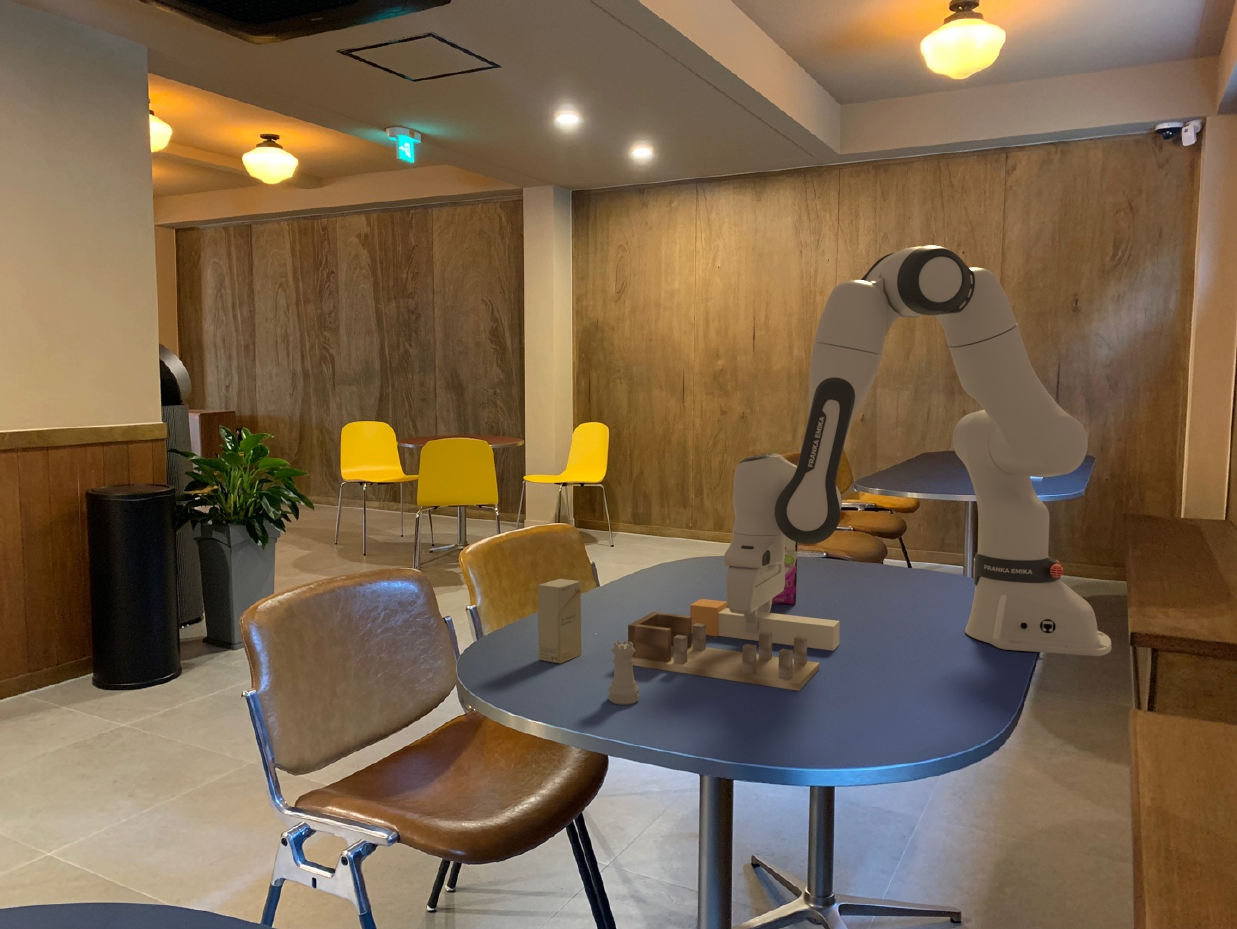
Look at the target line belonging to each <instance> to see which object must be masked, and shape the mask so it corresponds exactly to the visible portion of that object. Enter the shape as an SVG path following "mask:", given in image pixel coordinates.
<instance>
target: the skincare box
mask: <svg viewBox="0 0 1237 929" xmlns="http://www.w3.org/2000/svg"><path fill="white" fill-rule="evenodd" d="M581 589H582V587H581V581H580V580H576V579H575V580H572V579H566V578H558V579H553V580H550V581H547V582H544V583H540V584H537V615H538V616H537V618H538V619H537V626H538V628H537V629H538V630H537V631H538V632H537V633H538V638H537V639H538V660H539V661H543V662H547V663H555V664H562V663H565V662H567V661H569V660H573V659H575V658H577V657H579V656H582V607H581V606H582V602H581V601H582V599H581V598H582V597H581V596H582V592H581Z"/></svg>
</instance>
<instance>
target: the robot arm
mask: <svg viewBox="0 0 1237 929" xmlns="http://www.w3.org/2000/svg"><path fill="white" fill-rule="evenodd" d="M922 316H934V317H935V318H936V319H937V321H938V322H939V324H940V326H941V328H942V329H943V333H944V336H945V340H946V343H947V347H948V350H949V353H950V356H951V359H952V362H953V365H954V368H955V371H956V374H957V377H958V380H959V383H960V386H961V387H962V389H963V391H964V392H965V393H966V394H967V395H968V396H969V397H971V398H972V399H974V400H975V401H976V402H977V403H978V404H979V405H980V406H981V407H982V410H981V409H980V410H978V411H975V412H971V413H968V414H966V415H964V416H962V417H961V418H960V420H959V421H958V422H957V424H956V425H955V427H954V430H953V433H952V445H953V447H952V448H953V449H954V452H955V454H956V456H957V457H958V458H959V459H960V461H961V462H962V463H963V465H964V466H965V468H966V470H967V472H968V475H969V478H970V481H971V484H972V487H973V491H974V495H975V500H976V506H977V514H978V515H977V519H978V520H977V521H978V524H977V526H978V527H977V528H978V529H977V551H976V552H975V555H974V558H973V581H974V582H973V584H974V585H975V586H974V595H973V600H972V606H971V611H970V614H969V618H968V622H967V624H966V627H965V630H964V632H965V633H966V635H967V636H969V637H971V638H973V639H976V640H978V641H982V642H984V643H988V644H990V645H992V646H994V647H996V648H997V649H1002V650H1009V651H1020V652H1021V651H1023V652H1033V653H1046V654H1047V653H1050V654H1063V655H1064V654H1065V655H1076V656H1077V655H1078V656H1092V657H1101V656H1105V655H1107V654H1109V653H1110V652H1111V650H1112V640H1111V638H1110V637H1109V635H1107V634H1106V633H1104V632H1102V631H1099V630H1098V623H1097V617H1096V614H1095V611H1094V608H1093V607H1092V605H1091V604H1090V603H1089V602H1088V601H1087V600H1086V599H1084V598H1083V597H1082V596H1081V595H1079V594H1078V593H1077V592H1076V591H1075V590H1073V589H1072V588H1071V587H1069V586H1068V585H1067V584H1065V583H1064V582H1063V581H1061V577H1062V576H1063V574H1064V568H1063V566H1062V563H1060V561H1059V560H1058V559H1054V558H1052V557H1051V556H1049V544H1050V543H1049V539H1050V536H1049V535H1050V511H1049V509H1048V508H1047V505H1046V504H1045V503H1044V502H1043V501H1042V500H1041V499H1040V497H1038V495H1037V492H1036V490H1035V489H1034V488H1035V487H1034V486H1033V482H1032V479H1031V477H1034V478H1049V477H1057V476H1062V475H1069V474H1071V473H1072V472H1074V471H1076V470H1077V469H1078V468H1079V467H1080V466H1081V465H1082V463H1083V462H1084V460H1085V459H1086V458H1085V457H1086V455H1087V454H1088V453H1087V452H1088V447H1089V446H1088V445H1089V444H1088V443H1089V442H1088V435H1087V431H1086V429H1085V427H1084V426H1083V424H1082V422H1080V421H1079V419H1077V418H1075V417H1074V416H1072V415H1070V414H1069V413H1068V412H1066V410H1064V409H1063V408H1062V407H1061V406H1060V405H1059V404H1058V403H1057V401H1056V400H1055V399H1054V398H1053V397H1052V396H1051V394H1050V392H1048V390H1047V389H1046V387H1045V386H1044V384H1043V383H1042V382H1041V380H1040V378H1039V376H1038V375H1037V374H1036V372H1035V370H1034V368H1033V366H1032V363H1031V361H1030V358H1029V355H1028V352H1027V349H1026V346H1025V343H1024V340H1023V338H1022V334H1021V331H1020V328H1019V325H1018V321H1017V318H1016V316H1015V314H1014V311H1013V308H1012V305H1011V302H1010V300H1009V298H1008V296H1007V294H1006V292H1005V291H1004V288H1003V286H1002V284H1001V282H1000V281H999V279H998V277H997V275H995V273H994V272H993V271H991V270H989V269H986V268H983V267H969V266H968V265H967V264H965V261H963V259H962V258H961V257H960V256H959V255H958V254H956V253H955V252H954V251H952V250H950V249H949V248H946V247H943V246H940V245H935V244H934V245H923V246H912V247H907V248H903V249H902V250H899V251H897V252H892V253H889V254H886V255H883V257H881V258H879V259H878V260H877V261H875V262H874V264H873V265H872V266H871V267H870V268H869V270H867V272H866V273H865V275H863V276H862V277H861V279H853V280H848V281H847V280H846V281H844V282H841V283H839V284H838V285H836V286H835V287H834V288H833V289H832V291H831V292H830V294H829V297H828V299H827V300H826V304H825V307H824V308H823V312H822V313H821V317H820V320H819V323H818V326H817V330H816V333H815V337H814V341H813V345H812V350H811V356H810V363H809V370H808V371H809V373H808V374H809V376H808V377H809V378H808V394H809V395H808V403H809V405H808V419H807V424H806V427H805V428H806V429H805V433H804V437H803V441H802V445H801V449H800V454H799V458H798V461H797V465H796V464H794V463H792V462H791V461H788V460H787V459H786V458H785V457H783V456H782V455H781V454H779V453H777V452H776V453H774V452H771V453H762V454H756V455H752V456H747V457H745V458H744V459H742V460H741V461H740V462H739V463H738V464H737V465H736V467H735V470H734V471H735V472H734V477H733V487H732V488H733V489H732V508H733V512H734V523H733V526H732V538H731V541H730V545H729V547H728V548H727V550H726V551H725V552H724V555H723V561H724V562H723V564H724V566H727V567H728V568H727V570H726V581H725V582H726V598H727V600H726V602H727V608H729V610H730V612H732V613H738V614H744V617H745V620H746V631H747V632H748V633H756V632H757V631H758V630H759V621H758V620H757V613H758V612H766V613H771V608H772V605H773V604H772V598H774V597H775V596H777V595H778V594H779V593H781V592H782V591H783V590H784V586H785V569H784V559H785V536H786V537H788V538H789V539H791V540H793V541H795V542H797V544H802V545H815V544H819V543H820V544H821V543H822V542H824V541H825V540H827V539H828V538H830V537H831V536H833V534H834V532H836V530H837V528H838V526H839V523H840V519H841V511H842V510H841V509H842V506H843V505H842V504H843V497H842V493H841V491H840V489H839V487H838V485H837V478H838V474H839V469H840V465H841V460H842V457H843V452H844V447H845V444H846V440H847V435H848V432H849V429H850V426H851V423H852V422H853V420H854V417H856V415H857V413H858V411H859V409H860V408H861V407H862V404H863V403H864V401H866V399H867V397H868V395H869V393H870V391H871V389H872V386H873V385H874V381H875V379H876V377H877V374H878V371H879V368H880V365H881V361H882V355H883V352H884V347H885V342H886V336H887V335H888V332H889V330H890V328H891V327H892V325H893V324H894V322H895V321H896V320H897V319H898V318H900V317H901V318H911V319H912V318H919V317H922Z"/></svg>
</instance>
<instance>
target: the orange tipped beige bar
mask: <svg viewBox="0 0 1237 929" xmlns="http://www.w3.org/2000/svg"><path fill="white" fill-rule="evenodd" d="M689 609H690V610H689V611H690V613H689V614H690V615H689V616H692V634H693V625H695V624H696V623H698V624H706V636H711V637H719V636H720V637H724V638H733V639H734V638H735V639H740V640H741V639H742V640H748V641H749V640H750V641H757V642H759V634H760V633H761V632H770V633H772V644H779V645H786V646H793V647H794V638H795V637H796V636H802V637H807V648H811V649H817V650H823V651H835V650H836V648H838V647H839V645H840V625H841V624H840V620H834V619H826V618H816V617H807V616H801V615H791V614H783V613H782V614H781V613H773V612H770V613H766V612H758V613H757V620H758V621H759V630H758V631H757V632H756V633H748V632H747V631H746V620H745V617H744V614H738V613H732V612H730V610H729V607H728V602H727V601H724V600H716V599H715V600H714V599H705V598H701V599H698V600H696V601H695V602H693V603H691V604H690V608H689Z"/></svg>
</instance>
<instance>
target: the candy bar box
mask: <svg viewBox="0 0 1237 929" xmlns="http://www.w3.org/2000/svg"><path fill="white" fill-rule="evenodd" d="M784 569H785V586H784V590H783V591H782V592H781V593H779V594H778V595H777V596H775V597H774V598H772V605H773V604H775V605H778V604H779V605H797V604H796V603H797V583H798V582H797V580H798V579H797V578H798V577H797V576H798V575H797V574H798V543H797V542H795V541H793V540H791V539H789V538H788V537H786V536H785V559H784Z"/></svg>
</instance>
